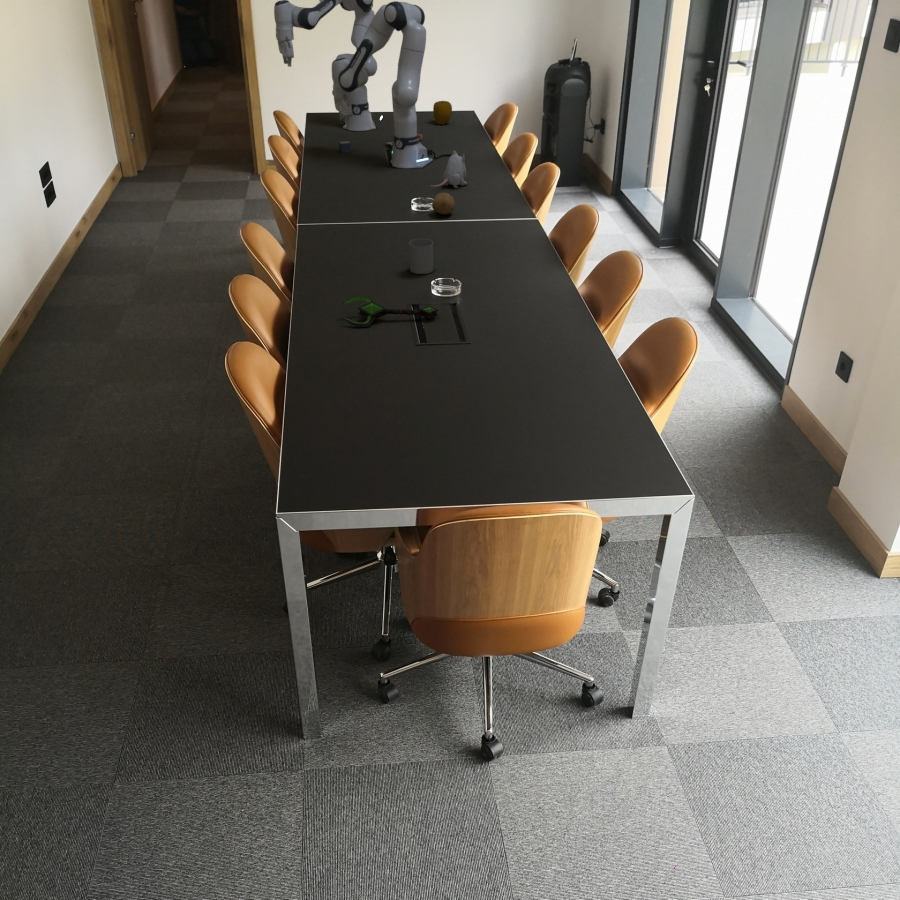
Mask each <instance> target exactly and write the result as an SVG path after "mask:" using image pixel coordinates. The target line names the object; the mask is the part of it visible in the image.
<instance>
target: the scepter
mask: <svg viewBox="0 0 900 900" xmlns="http://www.w3.org/2000/svg"><path fill="white" fill-rule="evenodd" d="M360 300H361V301H366V302H367V303H366V304H363V305H361V306H358V307H357V309H356V310H359V311H358V312H357V314H358V315H359V316H360V317H362V318H365V319H366V321H365V322H357V321H354V320H351V319H348V318H347V317H341V320H343V321H345V322H347V323H348V324H350V325H351V326H353V327H362V328H366V327H369V326H370V325H371V324H372V323H373V322H374V321H376V320H378V319H380V318H382V317H385V316H387V315H395V316H396V315H400V316H401V315H407V316H411V315H412V316H420V317H423V318H425V319H427V320H431V319H434V318H436V317H438V316H439V314H438V313H437V312H439V309H437V308H435V307H433V306H431V305H428V306H426V307H423V308H421V309H407V308H406V309H403V308H402V309H397V308H392V309H391V308H386V307H384V306H382V305H381V304H379V303H377V302H374V300H372V298H371V296H367V295H356V296H353V297H350V298H349V299H347V300H345V301H343V302H342V304H343V305H345V304H349V303H352V302H355V301H360Z"/></svg>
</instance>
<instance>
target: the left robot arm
mask: <svg viewBox="0 0 900 900" xmlns="http://www.w3.org/2000/svg"><path fill="white" fill-rule="evenodd" d="M318 1H319V2H318V3H317V4H316V5H315V6H313V7H303V6H298V5H295V4H293V3H291V2H290V1H289V0H278V1H276V2H275V3H274V6H273V11H274V12H273V15H274V22H275V38H276V41H277V47H278V51H279V53H280V54H281V55H282V59H283V64H284V65H287V67H288V68H290V67H292V59H294V58H295V53H294V52H295V51H294V46H293V45H294V44H293V41H294V40H295V35H294V28H297V29H304V30H306V31H311V30H314V29H315V28H316V26H318V23H319V22H320V21H321V20H322V19H323V18H324V17H326V16H327V15H328V14H329V13H330V12H331V11H332V10H334V8H336V7H337V6H338V5H340V7H341V8H342V9H343V10H344V11H347V12H354V21H353V26H352V30H351V36H350V42H351V44H352V45H353V47H354V48H355V52H356V51H357V49H358V47H359V45H360V44H361V42H362V40H363V38H364V36H365V34H366V31H367V29H368V27H369V25H370V23H371V21H372V19H373V17H374V16H375V14H376V13H375V11H374V10H373V7H374V0H318ZM354 54H355V53H347V52H346V53H340V54H338V55H337V56H336V57H335V59H334V60H336V59H340V58H347V59H348V60H349V61H351V59H352V58H353V56H354ZM363 67H364V68H365V69H366V70H367V72H368V78H370V77H373V76H375V75H376V73H377V71H378V62H377V60H376V58H375V57H374V54H373V55H371V56H370V57H369V58H368V60H367V61H366V63H365V65H364V66H363ZM368 99H369V98H368V87H367V86H366V84H365V85H363V86H361V87H359V88H357V89H355V90H354V91H352V92H351V97H350V98H349V100H350V101H351V106H352V116H350V118H349V125H346V124H345V125H342V129H344V130H347V131H352V132H366V131H371V130H376V127H377V126H376V124H375V122H374V120H373V118H372V113H371V111H370V105H369V101H368ZM382 119H383V115H381V116H380V118H379V120H380V121H381V120H382Z"/></svg>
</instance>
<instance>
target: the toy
mask: <svg viewBox="0 0 900 900" xmlns="http://www.w3.org/2000/svg"><path fill="white" fill-rule="evenodd" d="M451 154H453V155H451V156H449V158H448V161H447V163H446V166H445V170H444V171H443V177H442V179H443V181H442V182H441V183H439V184H436V185H435V184H433V185H432V184H430V185H428V186H429V187H434V188H440V187H443V186H446V187H448V186H449V185H451V186H453V188H455V189H459V187H458V186H461V187H462V186H467V185H468V182H467V181H465V180H466V178H467V168H466V156H465V153H463V154H462V155H459V154H458V153H457V151H456V150H455V149H453V150H452V153H451Z"/></svg>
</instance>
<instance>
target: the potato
mask: <svg viewBox="0 0 900 900" xmlns="http://www.w3.org/2000/svg"><path fill="white" fill-rule="evenodd" d="M455 206H456V200H455V198H454V196H452V195H451V194H449V193H448V192H439V193H437V194H436V195H435V197H434V198H433V200H432V201H431V207H432V209H433V210H434V212H436V213H437V214H439V215H441V216H442V215H449V214H450V213H452V212H453V211H454V209H455Z"/></svg>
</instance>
